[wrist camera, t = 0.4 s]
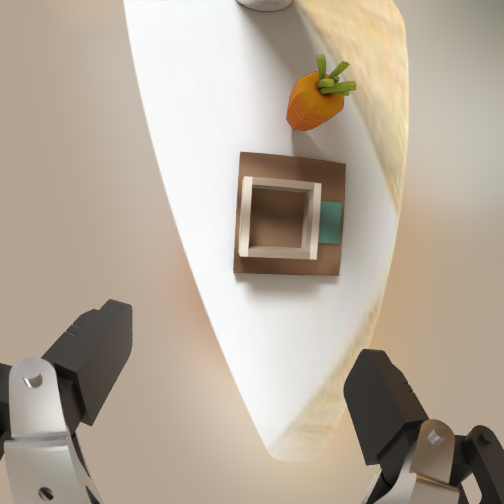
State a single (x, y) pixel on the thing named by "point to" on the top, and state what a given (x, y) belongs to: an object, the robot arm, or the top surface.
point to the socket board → (289, 215)
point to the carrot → (317, 97)
